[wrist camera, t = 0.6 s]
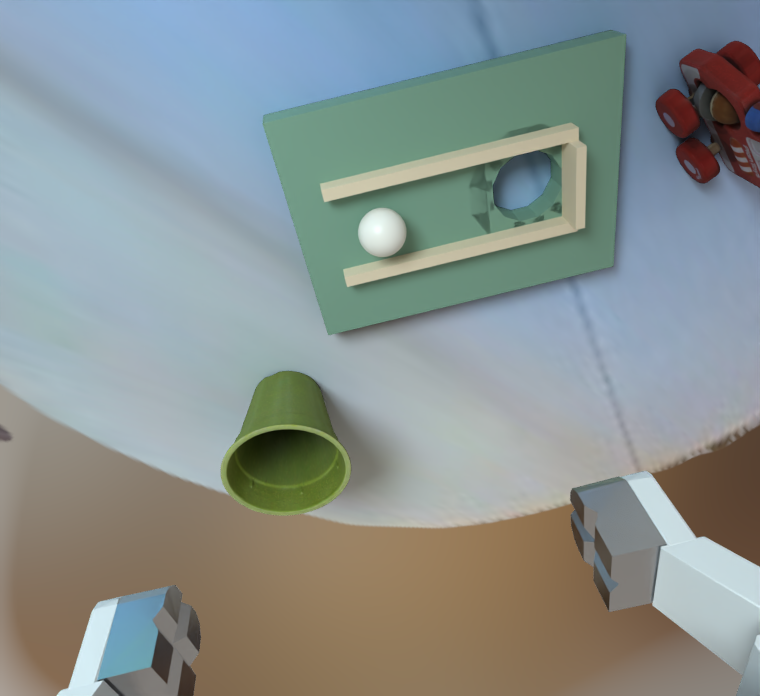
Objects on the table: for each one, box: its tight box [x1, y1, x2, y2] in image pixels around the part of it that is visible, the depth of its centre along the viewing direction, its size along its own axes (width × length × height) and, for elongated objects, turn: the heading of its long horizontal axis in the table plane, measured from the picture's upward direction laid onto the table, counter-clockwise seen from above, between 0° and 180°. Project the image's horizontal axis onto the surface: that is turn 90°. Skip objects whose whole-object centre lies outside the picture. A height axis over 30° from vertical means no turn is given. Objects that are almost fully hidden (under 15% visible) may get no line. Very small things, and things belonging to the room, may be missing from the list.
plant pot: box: [221, 371, 351, 516], centre depth 57 cm, size 12×12×11 cm
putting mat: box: [263, 30, 626, 335], centre depth 49 cm, size 28×20×6 cm
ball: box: [358, 208, 407, 257], centre depth 47 cm, size 4×4×4 cm
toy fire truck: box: [656, 41, 760, 188], centre depth 45 cm, size 7×12×10 cm, turn 39°
